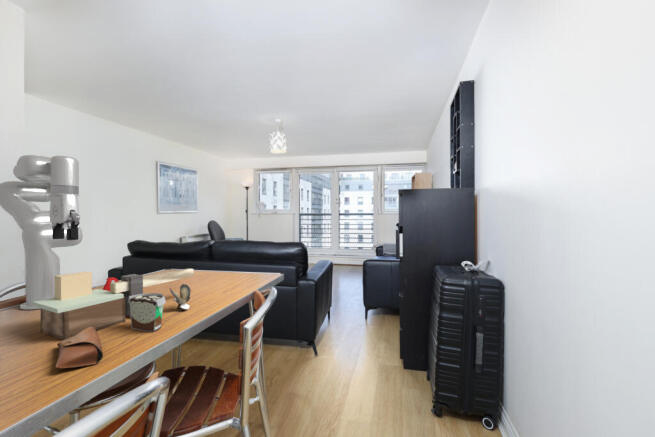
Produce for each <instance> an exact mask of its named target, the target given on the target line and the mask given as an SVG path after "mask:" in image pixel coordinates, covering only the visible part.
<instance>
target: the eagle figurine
mask: <svg viewBox="0 0 655 437" xmlns="http://www.w3.org/2000/svg"><path fill="white" fill-rule="evenodd" d="M169 291H170V293H171V294H172V296H173V297H174V298H173V299H172V301H174V302H175V303H177V307H176V308H175V310H174V311H175V312H177V311H180V312H182V310H186V311H187V310H188V309H190V305H189V304H187V303H188V302H189V301H190V300H191V291H192V290H191V287H190V286H189V285H188V284H184V283H183V284H181V286H179V294H178V292H177V291H174V290H172V288H171V287H169Z"/></svg>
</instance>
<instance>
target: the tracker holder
mask: <svg viewBox="0 0 655 437" xmlns="http://www.w3.org/2000/svg"><path fill="white" fill-rule="evenodd" d="M114 282H119V280H118V278H116V277H113V276H112V277H107V278H106V282H105V284H104V286H103V287H102V290H106V291H110V283H114ZM119 293H121V292H119Z"/></svg>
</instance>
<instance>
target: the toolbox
mask: <svg viewBox="0 0 655 437" xmlns="http://www.w3.org/2000/svg"><path fill="white" fill-rule="evenodd" d="M143 277H144V275H142V274H136V273H132V274H131V273H130V274H125V275H121V276H120V281H125V280H127V281H129V290H128V291H124V292H121V294H124V298H121V299H116V300H112V301H108V302H104V303H99V304H95V305H91V306H87V307H82V308H78V309H74V310H70V311H65V312H61V313H55V312H51V311H48V310H45V309H42V308H41V309H40V333H42V334H46V335H48V336H51V337H53V338H56V339H58V340H61V341H63V340H65V339H68V338H70V337H72V336H75V335H77V334H78V333H80V332H82V331H83V330H85V329H87V328H89V327H94V328H95V330H96V332H98V331H100V330H104V329H107V328H110V327H114V326H117V325H119V324H123V323H126V317H127V316H129V319H130V320H131V315H130V303H128V299H129V296H132V295H138V294H144V287H143Z"/></svg>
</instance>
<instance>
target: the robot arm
mask: <svg viewBox="0 0 655 437" xmlns="http://www.w3.org/2000/svg"><path fill="white" fill-rule="evenodd" d="M79 165H80V163H79V160H78V158H75V157H72V156H67V155H65V156H64V155H54V156H52V157H50V156H45V155H44V156H42V155H36V154H35V155H32V154H27V155H26V154H25V155H21V156H20V157H19V158H18V159H17V161H16V165H15V166H14V167H13V169H12V173H13V175H14V177H15V178H17V179H19V181H18V180H16V181H15V180H11V181H10V180H9V181H3V182H1V183H0V207H1V208H2V209H3V210H4V211H5V212H6V213H7V214H9V215H10V216H11V217H12V218H13V220H14V221H15V222H16V224H17V226H19V228H20V229H21V230H22V231H21V239H22V244H23V248H24V256H25V302H24V303H21V304H20V305H19V309H21V310H29V311H30V310H41V308H38V307H35V306H33V302H34V301H39V300H44V299H49V298H55V276H58V275H61V264H60V263H61V261H60V260H61V259H60V256H59V255H58V254H57V253H55V251H53V250H52V249H55V248H66V247H74V246H78V245H79V244H80V243H82V241H83V236H84V235H83V230H82V229H81V227H80V220H81V215H80V208H79V207H80V206H79V198H78V197H80V171H79V170H80V166H79ZM34 202H35V203H36V202H37V203H48V202H49V210H42V209H40V207H39V206H37V204H34Z"/></svg>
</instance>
